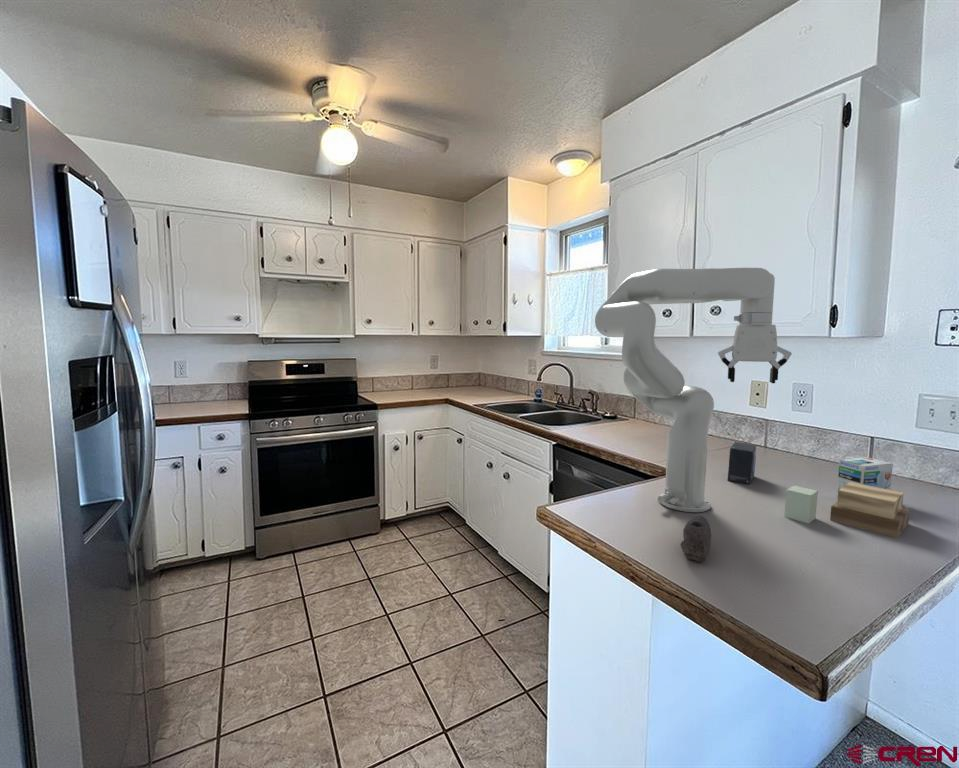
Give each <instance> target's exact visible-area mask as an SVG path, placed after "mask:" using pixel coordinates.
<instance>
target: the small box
mask: <svg viewBox="0 0 959 768" xmlns="http://www.w3.org/2000/svg"><path fill="white" fill-rule="evenodd" d="M728 458H729V459H728V471H727V481H728V482H729V481H731V482H735V483H740V484H746V485H751V483H752V481H753V480H754V477H755V472H756V471H755V470H756V458H757V444H750V443H745V442H744V443H743V442H738V441H735V442H733V444H732V445H731V446H730V448H729V456H728Z"/></svg>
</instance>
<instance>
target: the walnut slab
mask: <svg viewBox="0 0 959 768" xmlns="http://www.w3.org/2000/svg"><path fill="white" fill-rule="evenodd" d="M837 502H838V501H837ZM837 502H835V503H834V504H832V505H831V506H830V515H829V516H830V517H829V518H830V519H829V520H830V521H832V522H835V523H838V524H839V523H840V524H843V525H847V526H850V527H854V528H858V529H863V530H865V531H869V532H873V533H877V534H880V535H885V536H889V537H892V538H896V539H897V538H899V536H900V535H901V534H902V532H903V531H904V530H905V528H906V527H907V526H909V520H910V519H909V517H910V509H908V508H903V507H902V509H901V510H900V512H899V513H898V514H897V515H896V516H895V518H894V519H889V518H884V517H880V516H876V515H872V514H868V513H863V512H859V511H855V510H851V509H847V508H842V507H838V506H837Z"/></svg>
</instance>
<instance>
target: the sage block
mask: <svg viewBox="0 0 959 768" xmlns="http://www.w3.org/2000/svg"><path fill="white" fill-rule="evenodd" d="M785 490H786V492H785V505H784V516H783V517H784V518H787V519H790V518H791V519H790V520H794V521H797V522H801V523H805V524H810V523H811V522H813V521H815V519H817V516H816V515H817V507H818V506H817V505H818V494H819V491H818V490H817V489H810V488H806V487H802V486H798V485H792V486H791V487H789V488H787V489H785Z"/></svg>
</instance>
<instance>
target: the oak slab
mask: <svg viewBox="0 0 959 768" xmlns="http://www.w3.org/2000/svg"><path fill="white" fill-rule="evenodd" d="M904 494H905V493H904V491H897V490H894V489H892V490H891V489H890V490H889V489H884V488H879V487H874V486H869V485H864V484H859V483H854V482H849V483H848V484H846V485H845V486H844V487H842V488H841V489H840V490H839V491H838V497H837V506H838V507H842V508H847V509H851V510H855V511H859V512H863V513H868V514H872V515H876V516H880V517H884V518H889V519H894V518H895V516H896V515H897V514H898V513H899V512H900V510H901V509H902V508H903V500H904Z"/></svg>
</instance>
